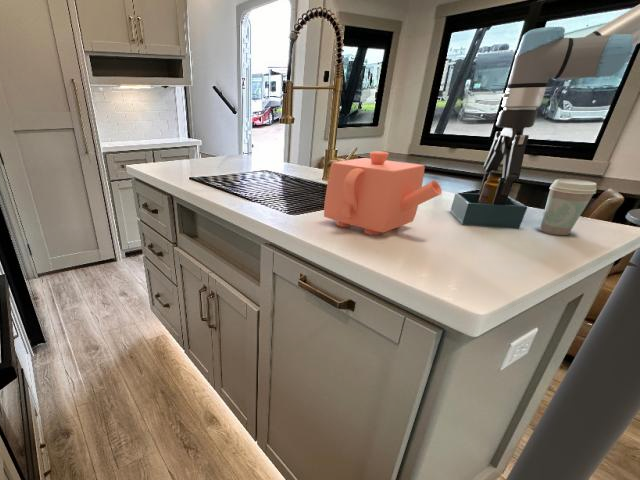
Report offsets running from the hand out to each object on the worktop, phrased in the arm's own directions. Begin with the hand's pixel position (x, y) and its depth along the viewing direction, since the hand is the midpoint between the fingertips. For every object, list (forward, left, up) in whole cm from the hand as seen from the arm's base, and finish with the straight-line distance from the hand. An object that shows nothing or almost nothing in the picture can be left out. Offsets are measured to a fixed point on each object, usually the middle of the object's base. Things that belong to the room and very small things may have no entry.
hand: (490, 202), depth 96 cm
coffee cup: (-13, +7, -5) cm, 16 cm away
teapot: (+29, +16, -5) cm, 33 cm away
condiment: (+1, 0, -4) cm, 4 cm away
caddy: (+1, 0, -5) cm, 5 cm away
